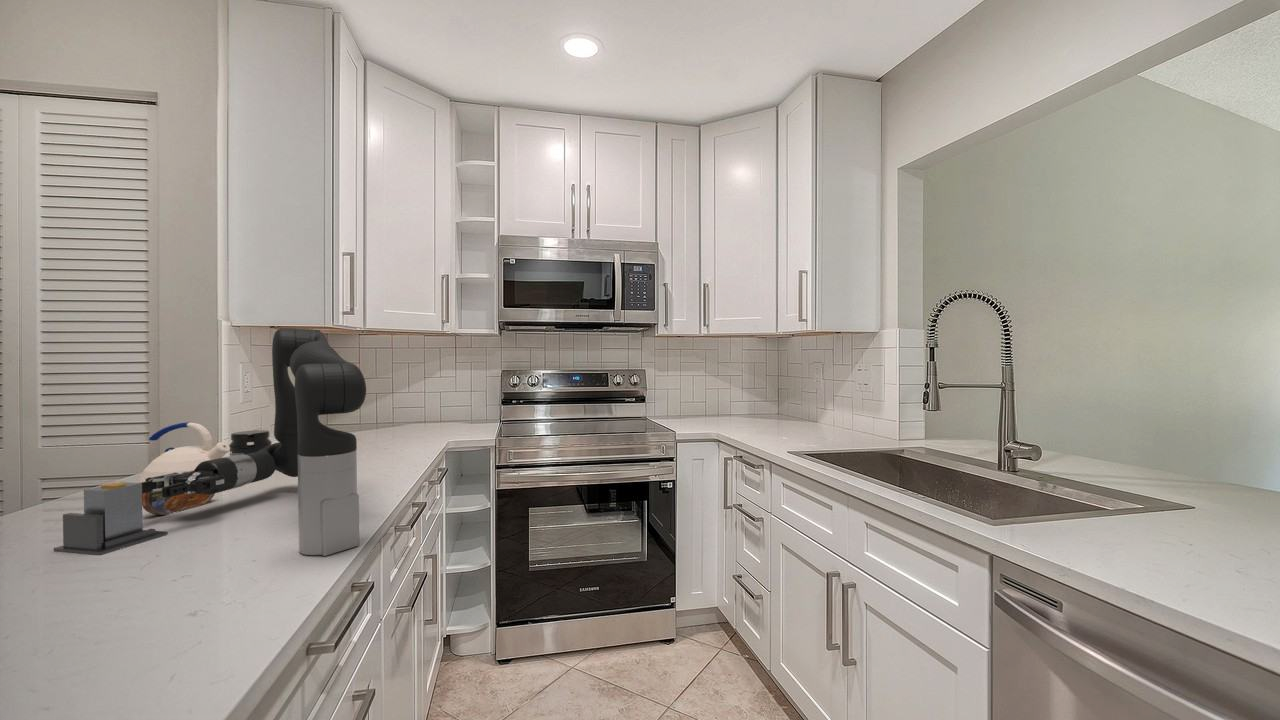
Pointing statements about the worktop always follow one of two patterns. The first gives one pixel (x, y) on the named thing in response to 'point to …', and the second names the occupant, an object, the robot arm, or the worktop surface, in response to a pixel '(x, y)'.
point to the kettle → (183, 453)
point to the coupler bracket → (96, 535)
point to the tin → (172, 502)
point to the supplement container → (249, 442)
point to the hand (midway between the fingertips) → (146, 491)
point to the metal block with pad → (116, 508)
